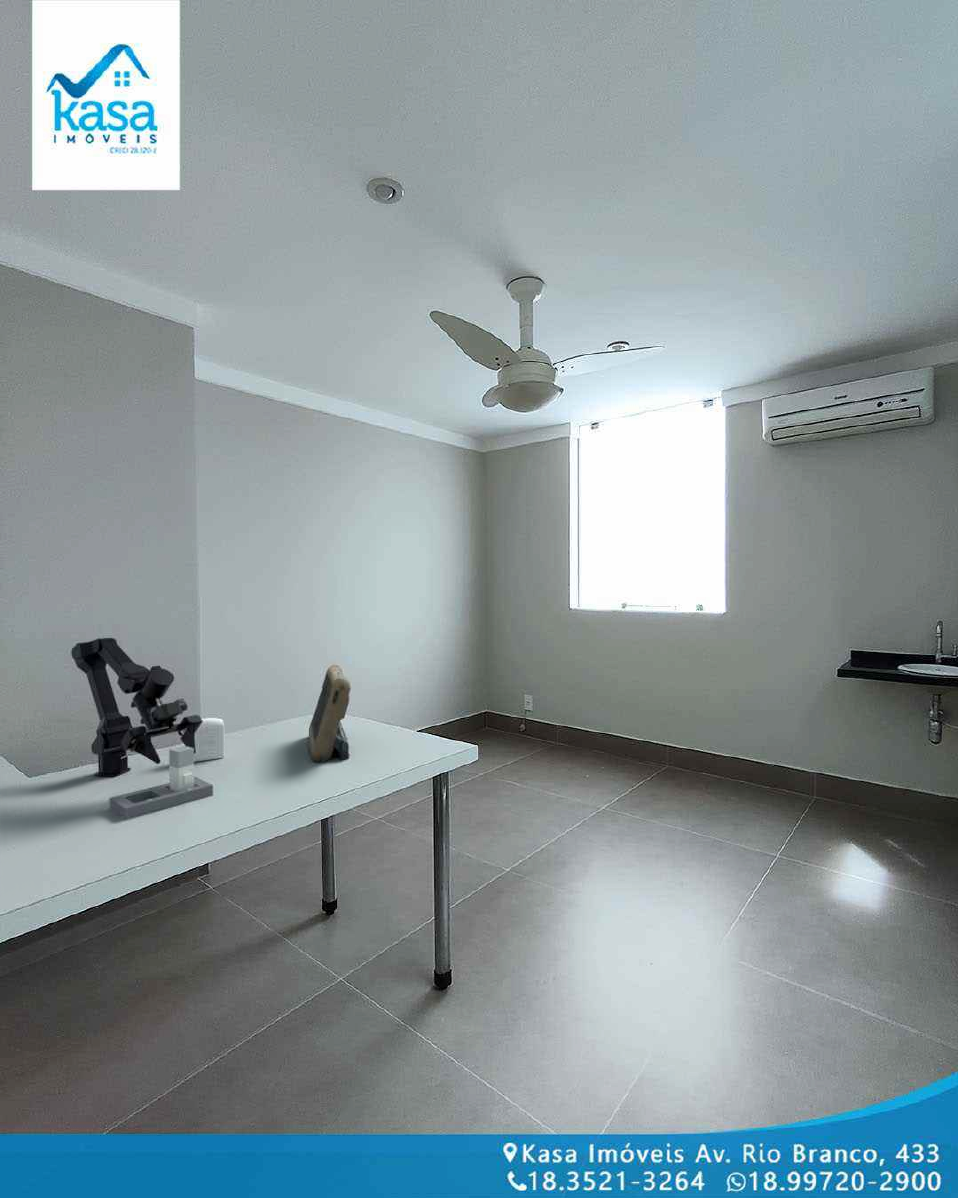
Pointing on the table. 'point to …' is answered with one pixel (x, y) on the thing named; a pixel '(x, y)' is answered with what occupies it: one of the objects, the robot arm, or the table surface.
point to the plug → (181, 768)
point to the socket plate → (157, 798)
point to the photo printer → (209, 740)
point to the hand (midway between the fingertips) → (177, 758)
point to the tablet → (330, 717)
